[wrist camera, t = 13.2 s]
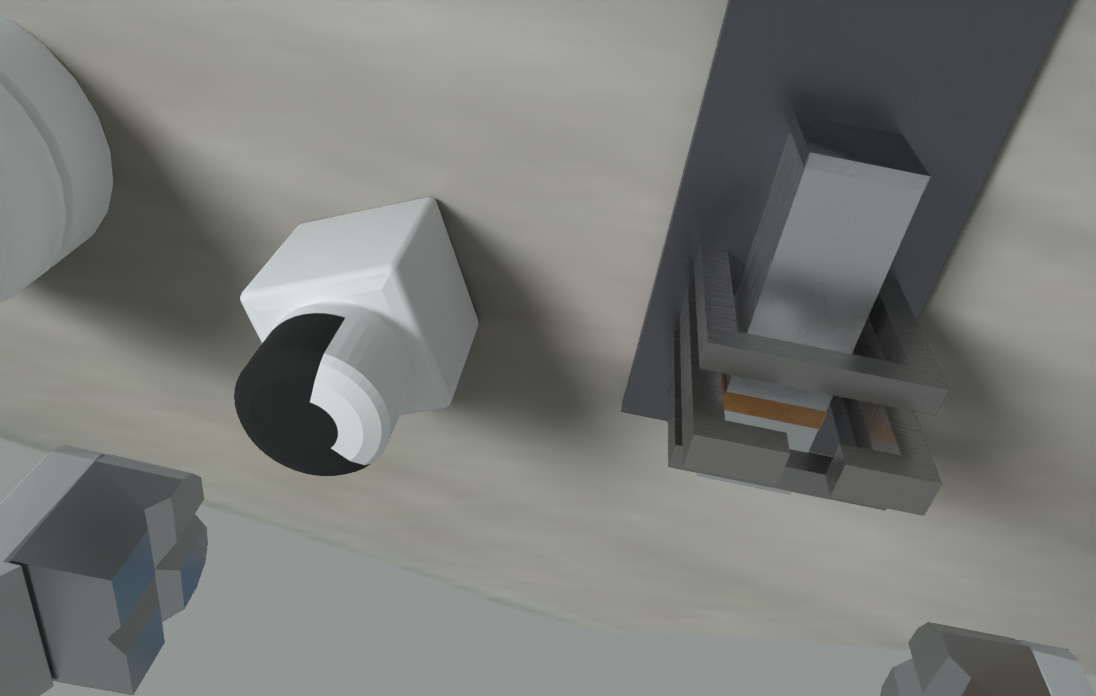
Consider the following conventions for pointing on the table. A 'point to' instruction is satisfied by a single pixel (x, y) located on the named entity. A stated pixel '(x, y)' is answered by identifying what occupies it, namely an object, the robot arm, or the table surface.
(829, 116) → the rail
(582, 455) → the table surface
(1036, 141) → the table surface
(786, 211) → the orange-striped grey block
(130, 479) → the robot arm
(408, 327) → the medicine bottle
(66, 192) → the honey pot
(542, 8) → the table surface
